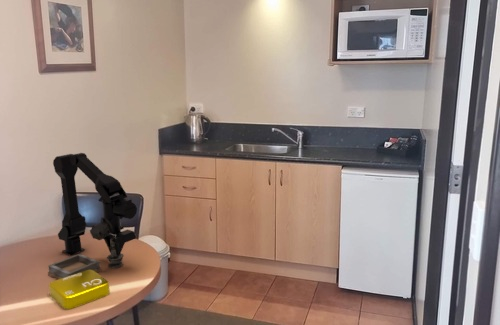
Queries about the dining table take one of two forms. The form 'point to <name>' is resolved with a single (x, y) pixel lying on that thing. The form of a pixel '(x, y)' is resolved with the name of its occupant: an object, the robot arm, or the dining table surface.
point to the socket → (73, 266)
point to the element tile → (78, 289)
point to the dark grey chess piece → (114, 256)
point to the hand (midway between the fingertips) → (115, 253)
